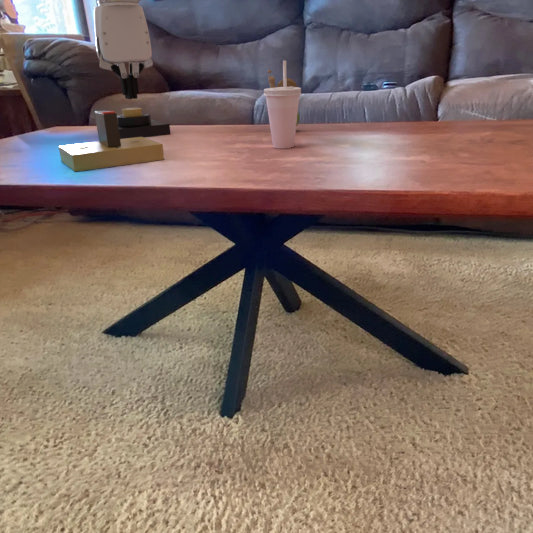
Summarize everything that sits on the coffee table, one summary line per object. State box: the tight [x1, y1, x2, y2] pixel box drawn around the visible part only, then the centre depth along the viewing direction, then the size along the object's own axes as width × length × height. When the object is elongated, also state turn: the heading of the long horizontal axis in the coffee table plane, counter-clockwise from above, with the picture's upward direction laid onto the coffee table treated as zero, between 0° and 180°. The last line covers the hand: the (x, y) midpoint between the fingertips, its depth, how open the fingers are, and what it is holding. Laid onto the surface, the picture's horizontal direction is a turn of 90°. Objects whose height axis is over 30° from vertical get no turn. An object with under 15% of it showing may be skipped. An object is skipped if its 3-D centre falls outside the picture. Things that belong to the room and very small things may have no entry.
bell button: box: [121, 107, 143, 117], centre depth 106 cm, size 4×4×2 cm
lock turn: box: [94, 110, 121, 147], centre depth 81 cm, size 6×2×5 cm, turn 32°
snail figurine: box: [267, 69, 300, 127], centre depth 104 cm, size 5×6×12 cm
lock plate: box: [58, 137, 165, 172], centre depth 82 cm, size 14×10×3 cm
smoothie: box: [263, 60, 302, 149], centre depth 87 cm, size 6×6×14 cm
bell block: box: [117, 113, 171, 139], centre depth 107 cm, size 12×10×4 cm
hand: (131, 98), depth 105 cm, fingers closed
